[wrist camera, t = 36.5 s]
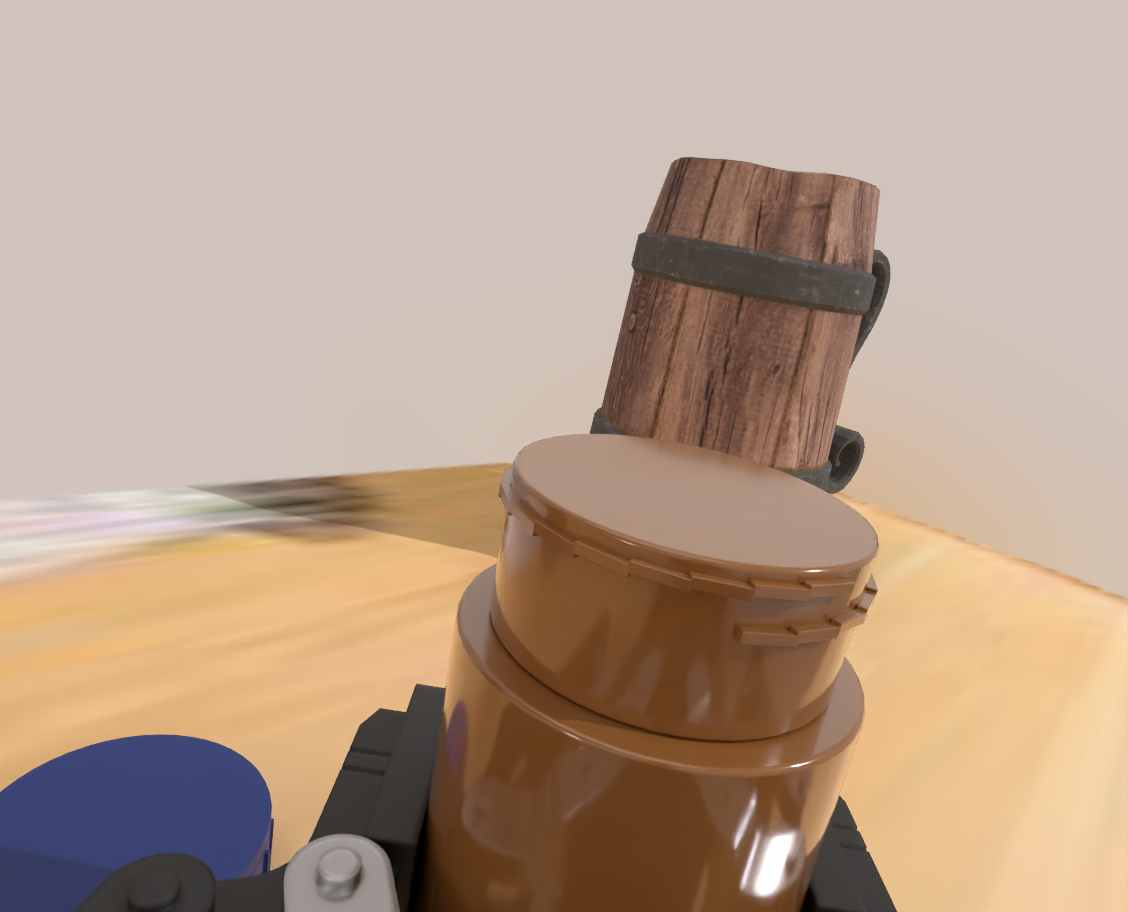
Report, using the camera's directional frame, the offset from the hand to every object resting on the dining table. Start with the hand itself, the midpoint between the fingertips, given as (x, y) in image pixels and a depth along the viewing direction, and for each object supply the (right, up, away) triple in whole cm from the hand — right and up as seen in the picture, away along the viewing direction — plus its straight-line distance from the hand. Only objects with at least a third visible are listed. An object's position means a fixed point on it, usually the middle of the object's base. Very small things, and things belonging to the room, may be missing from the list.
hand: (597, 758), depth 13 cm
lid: (-10, -3, +3) cm, 11 cm away
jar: (-1, -7, 0) cm, 7 cm away
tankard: (+9, 0, +32) cm, 33 cm away
